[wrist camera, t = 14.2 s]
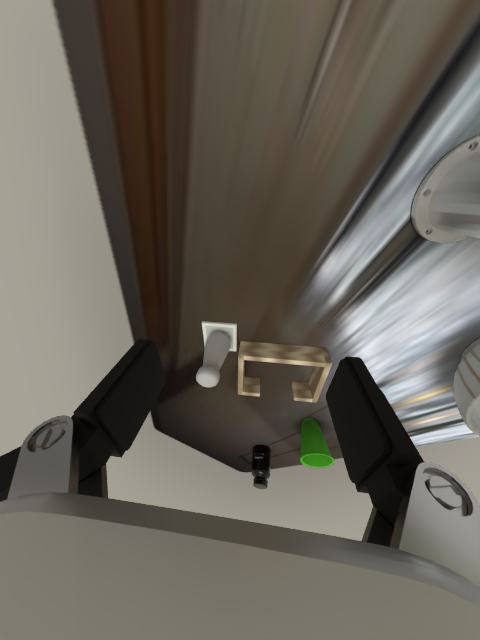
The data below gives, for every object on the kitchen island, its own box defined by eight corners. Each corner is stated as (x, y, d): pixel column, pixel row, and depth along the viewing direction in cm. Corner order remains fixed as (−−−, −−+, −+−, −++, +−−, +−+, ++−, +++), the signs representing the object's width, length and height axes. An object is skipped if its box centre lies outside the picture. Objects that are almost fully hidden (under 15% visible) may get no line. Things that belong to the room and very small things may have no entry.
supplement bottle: (260, 442, 73) (259, 481, 63) (273, 448, 74) (274, 488, 64) (249, 447, 76) (246, 485, 66) (262, 453, 78) (262, 491, 68)
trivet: (236, 323, 43) (236, 325, 42) (236, 349, 47) (236, 351, 47) (202, 321, 44) (201, 322, 43) (205, 347, 48) (205, 348, 48)
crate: (325, 347, 44) (332, 363, 40) (312, 386, 52) (316, 402, 47) (240, 340, 46) (238, 355, 41) (240, 378, 53) (238, 394, 49)
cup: (327, 426, 62) (338, 466, 52) (301, 431, 65) (306, 469, 56) (319, 412, 58) (328, 452, 49) (290, 417, 61) (295, 456, 52)
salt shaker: (219, 350, 47) (205, 395, 36) (203, 335, 45) (183, 378, 34) (237, 340, 45) (228, 386, 34) (221, 323, 43) (206, 367, 32)
